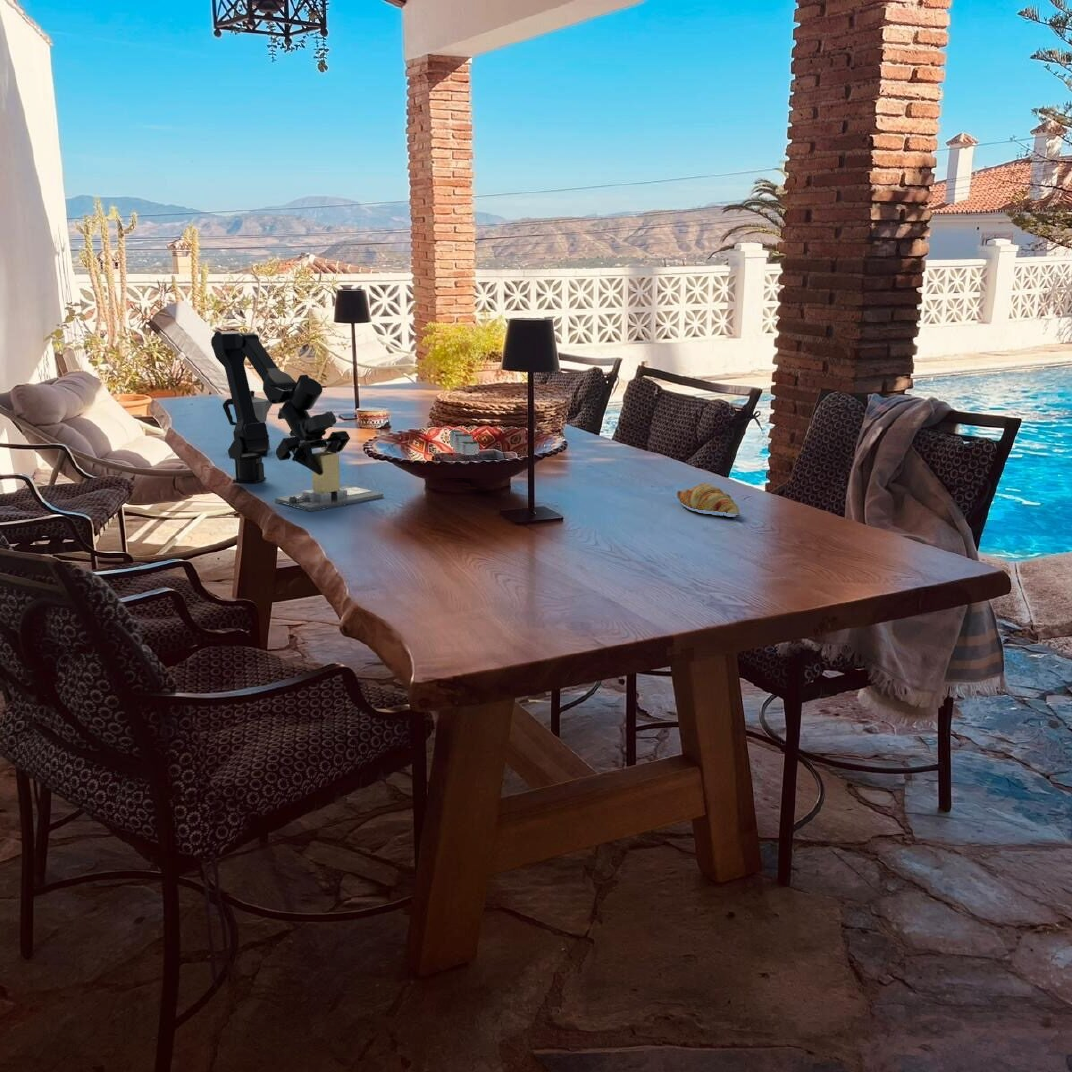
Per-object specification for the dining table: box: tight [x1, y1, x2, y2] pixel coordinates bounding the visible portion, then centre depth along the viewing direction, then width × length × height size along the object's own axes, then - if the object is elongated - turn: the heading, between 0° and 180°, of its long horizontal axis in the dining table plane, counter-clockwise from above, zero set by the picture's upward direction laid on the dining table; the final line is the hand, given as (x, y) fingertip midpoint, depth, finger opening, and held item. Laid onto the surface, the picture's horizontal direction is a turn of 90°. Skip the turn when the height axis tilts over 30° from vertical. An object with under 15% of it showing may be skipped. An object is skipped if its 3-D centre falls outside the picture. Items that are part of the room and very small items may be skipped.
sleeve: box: [311, 451, 341, 493], centre depth 251 cm, size 5×5×9 cm
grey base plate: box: [274, 484, 384, 512], centre depth 253 cm, size 14×23×7 cm, turn 138°
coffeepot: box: [222, 390, 273, 450], centre depth 319 cm, size 15×9×18 cm, turn 103°
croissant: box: [676, 482, 740, 515], centre depth 248 cm, size 21×10×8 cm, turn 34°
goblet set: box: [445, 428, 480, 455], centre depth 279 cm, size 28×6×13 cm, turn 22°
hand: (329, 472), depth 250 cm, fingers closed on sleeve, 5 cm apart
